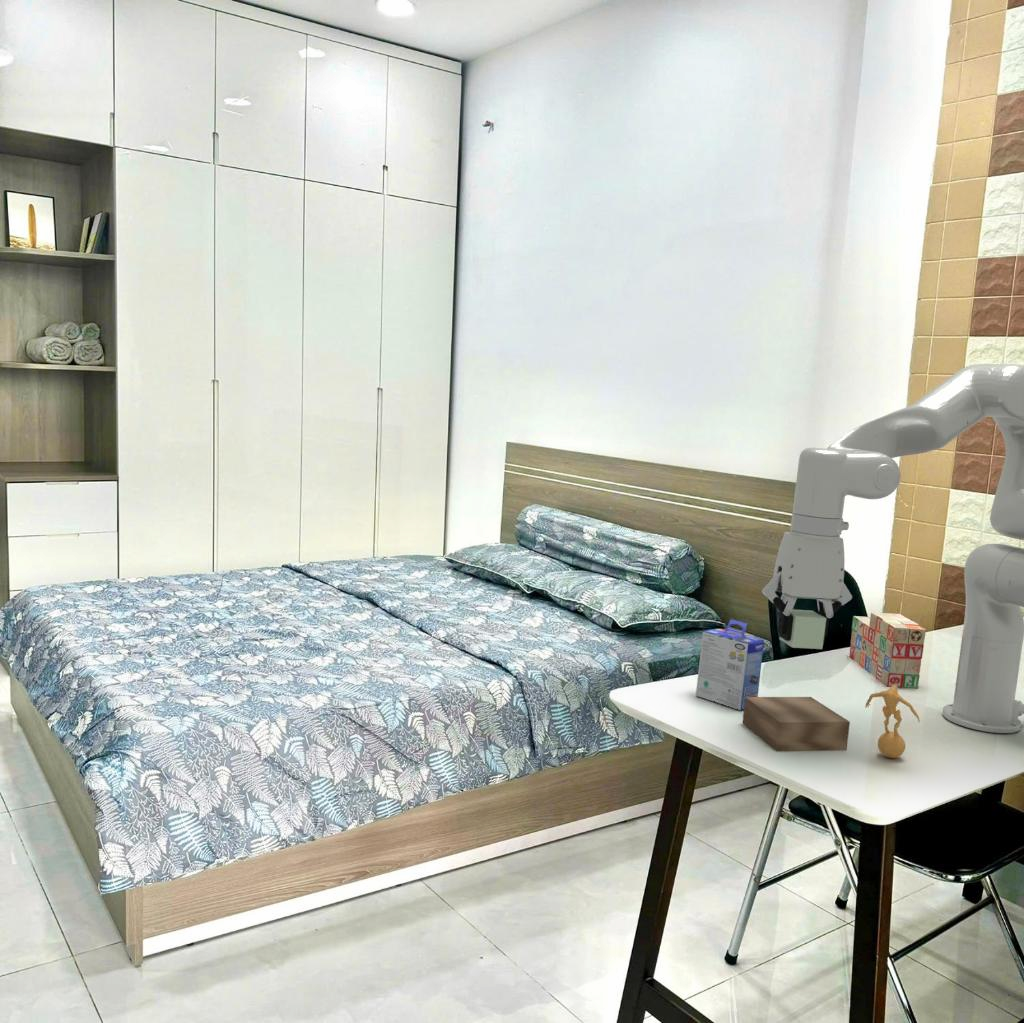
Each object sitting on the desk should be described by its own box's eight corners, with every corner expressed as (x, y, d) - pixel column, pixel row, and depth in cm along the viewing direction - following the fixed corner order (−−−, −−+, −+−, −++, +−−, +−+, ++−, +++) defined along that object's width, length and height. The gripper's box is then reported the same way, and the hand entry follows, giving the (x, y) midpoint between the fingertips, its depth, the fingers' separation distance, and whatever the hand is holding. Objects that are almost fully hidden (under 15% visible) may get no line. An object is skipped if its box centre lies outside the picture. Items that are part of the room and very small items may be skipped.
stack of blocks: (847, 657, 210) (854, 601, 209) (876, 659, 210) (883, 603, 209) (886, 688, 189) (894, 626, 188) (918, 690, 189) (926, 628, 188)
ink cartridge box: (759, 706, 172) (767, 626, 170) (741, 712, 168) (750, 630, 166) (712, 691, 179) (719, 614, 177) (694, 696, 175) (702, 618, 173)
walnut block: (807, 725, 164) (810, 696, 164) (846, 752, 153) (849, 721, 152) (742, 725, 162) (745, 696, 161) (776, 753, 150) (779, 722, 150)
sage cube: (808, 640, 158) (812, 610, 157) (822, 649, 153) (826, 618, 152) (779, 639, 157) (783, 609, 157) (792, 647, 152) (796, 616, 152)
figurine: (921, 762, 150) (931, 687, 148) (907, 772, 145) (917, 694, 144) (868, 746, 155) (877, 673, 154) (853, 755, 151) (862, 680, 149)
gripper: (854, 527, 158) (840, 636, 160) (755, 519, 155) (741, 630, 157) (878, 534, 150) (862, 648, 153) (773, 526, 148) (759, 643, 150)
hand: (801, 638), depth 155 cm, fingers closed on sage cube, 5 cm apart
